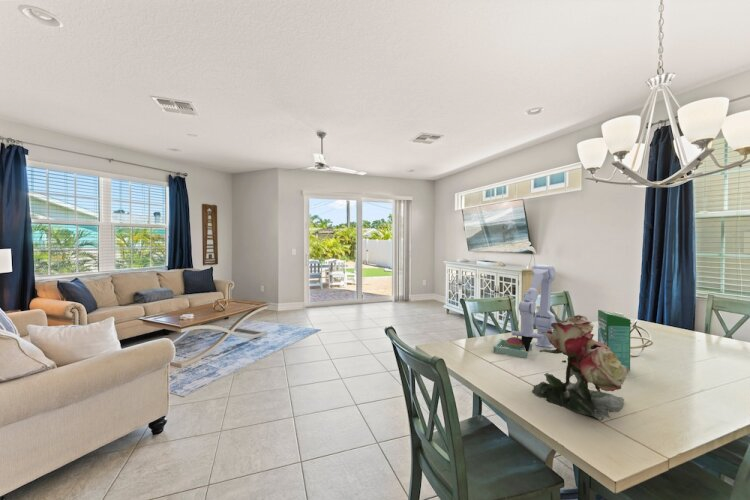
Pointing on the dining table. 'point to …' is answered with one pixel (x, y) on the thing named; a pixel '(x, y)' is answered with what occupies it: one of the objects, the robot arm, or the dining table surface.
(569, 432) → the dining table surface
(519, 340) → the cupcake
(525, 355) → the mint green u shape
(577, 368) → the rose bouquet
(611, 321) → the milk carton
